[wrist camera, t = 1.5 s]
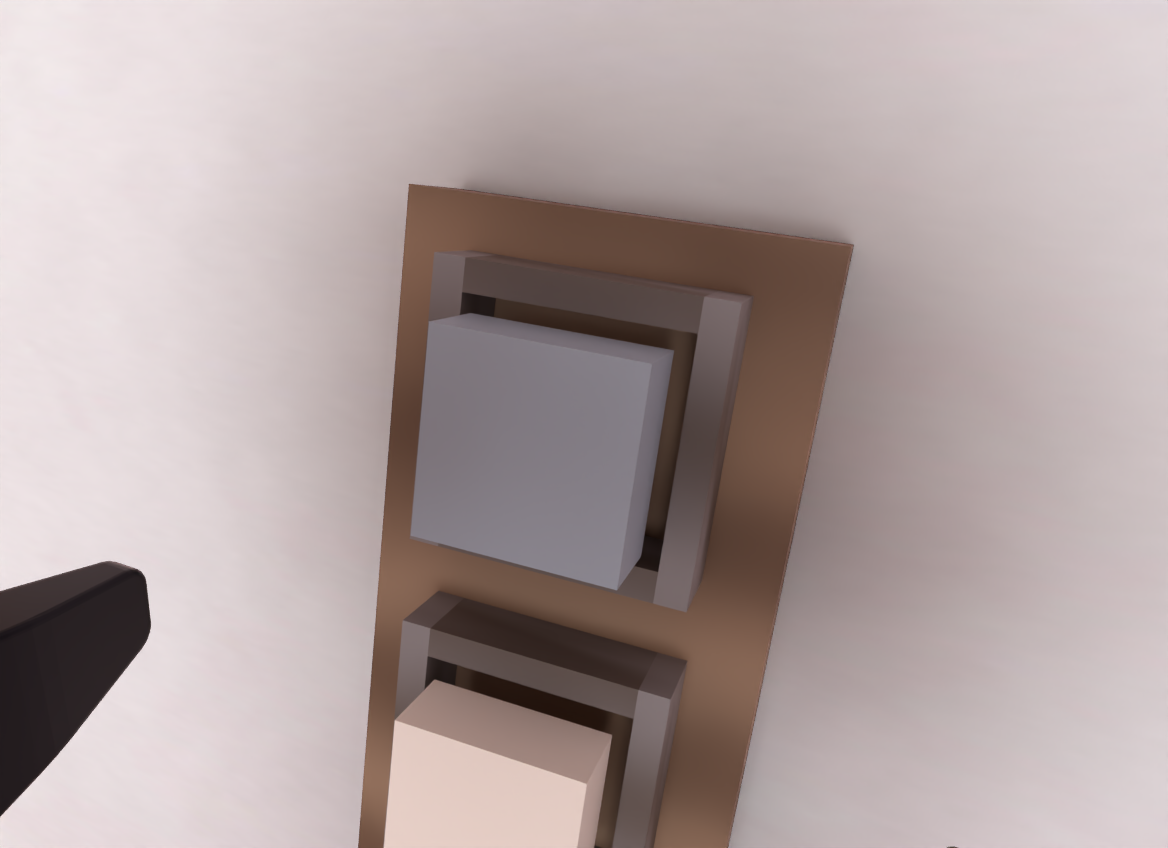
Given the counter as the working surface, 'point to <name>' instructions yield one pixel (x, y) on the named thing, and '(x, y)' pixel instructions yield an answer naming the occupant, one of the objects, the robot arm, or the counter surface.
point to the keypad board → (676, 511)
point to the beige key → (492, 775)
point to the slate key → (539, 445)
